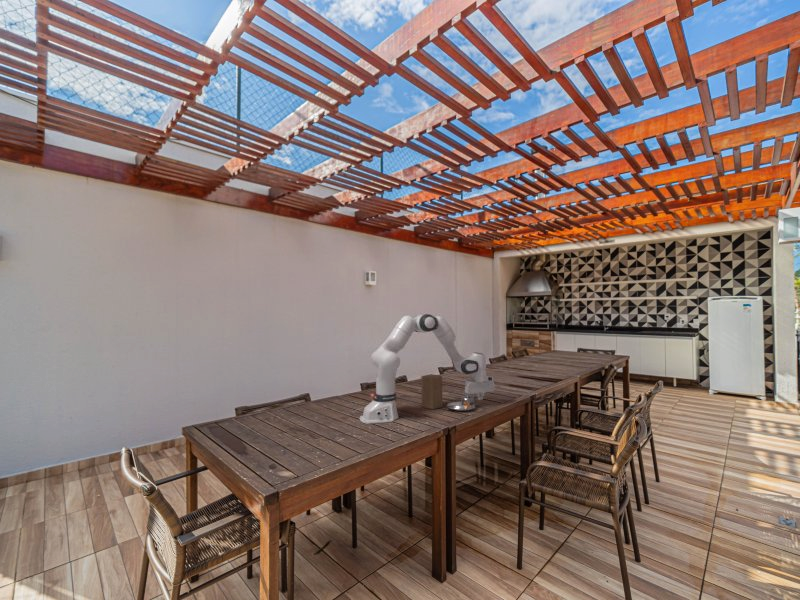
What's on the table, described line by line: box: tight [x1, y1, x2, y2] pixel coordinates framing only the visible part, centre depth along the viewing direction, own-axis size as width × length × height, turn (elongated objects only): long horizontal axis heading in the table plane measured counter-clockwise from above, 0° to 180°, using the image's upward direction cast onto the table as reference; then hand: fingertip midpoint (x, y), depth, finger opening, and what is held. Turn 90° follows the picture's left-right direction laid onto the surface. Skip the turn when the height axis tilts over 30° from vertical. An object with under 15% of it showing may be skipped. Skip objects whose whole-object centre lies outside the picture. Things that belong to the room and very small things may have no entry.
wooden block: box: [420, 373, 444, 411], centre depth 230 cm, size 10×10×20 cm
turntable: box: [446, 401, 476, 411], centre depth 224 cm, size 17×17×6 cm
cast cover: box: [460, 394, 475, 405], centre depth 225 cm, size 8×8×5 cm
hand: (480, 399), depth 229 cm, fingers closed
